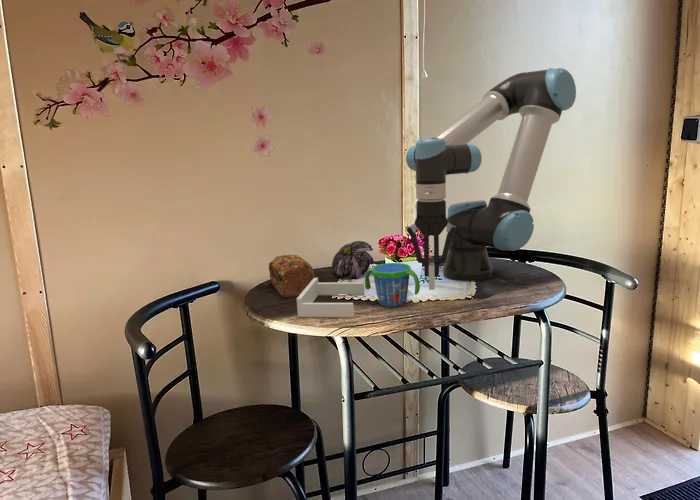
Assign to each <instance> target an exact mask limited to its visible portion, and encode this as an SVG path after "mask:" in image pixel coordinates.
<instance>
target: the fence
mask: <svg viewBox="0 0 700 500" xmlns="http://www.w3.org/2000/svg"><path fill="white" fill-rule="evenodd" d="M338 294H352V295H351V296H365V281H364V282H363V281H362V282H361V281H359V282H353V281H352V282H351V281H350V282H346V281H345V282H343V281H342V282H341V281H340V282H338V281H337V282H319V277H314V278H313V280H312V281H311V282H310V283H309V284H308V286H307V287H306V288H305V289H304V290H303V292H302V293H301V294H300V295H299V296H297V297H296V308H297V317H298V318H354V317H355V307H354V302H315V300H316V299H317V297H319V296H339V295H338Z"/></svg>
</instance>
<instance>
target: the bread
mask: <svg viewBox="0 0 700 500" xmlns="http://www.w3.org/2000/svg"><path fill="white" fill-rule="evenodd" d="M313 269H314V267H313V266H312V264H310V263H309V262H308V261H306V260H305V259H304V258H302V257H301V256H300V255H297V254H287V255H286V254H282V255H279V256H276V257H275V258H274V259H272V260H271V261H270V262H269V263H268V270H269V277H270V283H271V284H272V286H273V287H274V289H275V290H276V291H277V292H278V294H279V295H280V296H281V297H282V298H292V297H293V298H294V297H298V296H299V295H300V294H301V293H302V292H303V290H304V289H305V288H306V287H307V286H308V284H309V283H310V282H311V281H312V280H313V278H315V272H314V270H313Z"/></svg>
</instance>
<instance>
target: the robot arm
mask: <svg viewBox="0 0 700 500" xmlns="http://www.w3.org/2000/svg"><path fill="white" fill-rule="evenodd" d="M576 96H577V87H576V83H575V80H574V77H573V75H572V74H571V73H570V71H568V70H567V69H566V68H563V67H559V68H558V67H557V68H553V67H552V68H551V67H550V68H548V69H542V70H541V69H540V70H535V71H526V72H525V71H524V72H519V73H516V74H514V75H511V76H509V77H508V78H506V79H504V80H503V81H501V82H500V83H498V84H497V85H495V86H494V87H492V88H491V89H489V90H488V91H487V92H485V94H484V95H483V97H482V100H480V101H479V102H478V103H476V104H475V105H474V106H472V107H471V108H470V109H468V110H467V111H466V112H465V113H464V114H462V115H460V116H459V117H458V118H456V119H455V120H453V122H451V123H450V124H448V125H447V126H446V127H445V128H443V129H442V130H441V131H439V132H438V133H436V135H434V136H433V137H431V138H424V139H423V138H420V139H418V140H417V141H416V143H415V145H412V146H411V147H409V148H408V150H407V152H406V154H405V160H406V165H407V166H408V168H409V169H410V170H411V171H414V172H415V191H416V193H415V195H416V196H415V198H416V199H417V201H416V205H415V206H416V207H415V208H416V210H415V211H416V212H415V213H416V219H414V223H413V224H411V225H408V226H407V227H406V232H407V233H408V235H409V236H410V239H411V242H412V247H413V250H414V253H415V258H416V262H417V263H419V264H422V265H423V268H424V269H423V271H424V273H423V274H424V277H426V278H427V277H428V290H430V291H431V290H433V291H435V289H436V279H435V278H437V277H438V278H439V276H440V265H441V264H443V267H442V268H443V269H442V276H443V277H444V278H446V279H449V280H451V281H460V282H474V281H475V282H476V281H477V282H478V281H484V280H487V279H489V278H492V276H493V266H492V263H491V260H490V257H489V254H488V250H487V248H492V249H496V250H497V249H498V250H499V251H508V252H509V251H510V252H511V251H512V252H513V251H518V250H520V249H521V248H524V246H526V245H527V244H528V242H529V241H530V239H531V237H532V235H533V232H534V227H535V225H534V224H533V223H534V218H533V216H532V214H531V207H530V206H529V203H528V200H529V197H530V194H531V191H532V189H533V185H534V182H535V179H536V177H537V176H536V175H537V172H538V169H539V167H540V163H541V160H542V157H543V155H544V151H545V148H546V144H547V142H548V139H549V135H550V132H551V129H552V125H554V124H556V123H558V122H560V118H561V115H562V113H563V111H568V110H570V108H572V107H573V106H574V103H575V102H576ZM513 114H520V116H521V120H520V124H519V127H518V130H517V133H516V136H515V140H514V141H513V145H512V147H511V152H510V154H509V158H508V161H507V164H506V167H505V168H504V169H505V170H504V172H503V176H502V178H501V181H500V185H499V188H498V192H497V194H495V195H493V196H491V197H490V200H489V202H488V204H487V200H472V201H471V200H470V201H464V202H456V203H451V204H450V205H449V206H448V209H447V201H445V199H446V197H447V194H446V193H447V187H446V185H447V183H446V182H447V181H446V180H447V179H446V178H447V176H448V175H459V174H461V175H462V174H466V175H467V174H469V173H473V172H476V171H477V170H479V168H480V167H481V164H482V155H483V154H482V152H481V149H480V148H479V147H478V146H477V145H474V144H472V143H471V144H468V143H470V142H471V141H472V140H474V139H475V138H477V136H479V135H480V134H481V133H483V132H484V131H486V129H488V128H490V126H491V125H493V124H495V122H497V121H503V120H505V119H506V118H507V117H509V116H511V115H513ZM417 229H418V231H420V233H421V235H422V236H423V255H422V253H421V249H420V246H419V245H420V244H419V241H418V237H417V234H416V232H417ZM444 229H446V237H445V241H444V246H443V249H442V250H443V251H442V253H441V257H440V239H439V236H440V234H442V233H443V231H444ZM430 236H433V261H434V262H431V263H430Z"/></svg>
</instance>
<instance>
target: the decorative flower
mask: <svg viewBox="0 0 700 500" xmlns="http://www.w3.org/2000/svg"><path fill="white" fill-rule="evenodd" d="M371 251H374V249H373V247H372V245H370V243H368V242H366V241H363V240H359V241H358V240H357V241H353V242H350V243H347V244H346V243H345V244H344V245H342V246H341V247H340V249H339V250H338V251H337V252H336V253H335V255H334V256H333V259H332V261H331V268H332V271H333V274H334V275H335V276H337V279H341V280H342V279H344V278H349V279H350V280H351V279H357V280H358V279H359V277H360V274H361V275H363V276H364V274H365V273H367V272H368V271H369V270H370V268H369V267H370V265H374V258H373V256H372V255H371V254H370V253H369V252H371Z"/></svg>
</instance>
